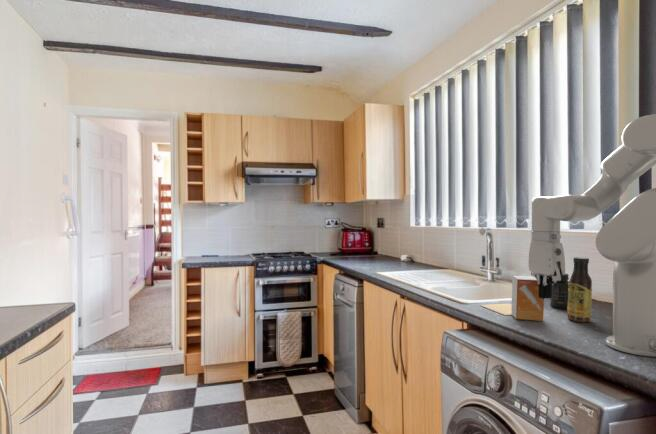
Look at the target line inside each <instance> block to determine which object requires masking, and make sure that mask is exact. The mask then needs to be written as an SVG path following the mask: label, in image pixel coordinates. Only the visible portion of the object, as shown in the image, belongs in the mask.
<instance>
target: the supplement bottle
mask: <svg viewBox="0 0 656 434" xmlns="http://www.w3.org/2000/svg"><path fill="white" fill-rule="evenodd" d="M569 281H570V279H569V274H568V273H565V275H564V276H561V281H555V282H554V284H553V285H552V298H549V303H550V304H549V305H550V307H551V308H554V309H559V310H560V309H561V310H567V306H568V283H569Z"/></svg>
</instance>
